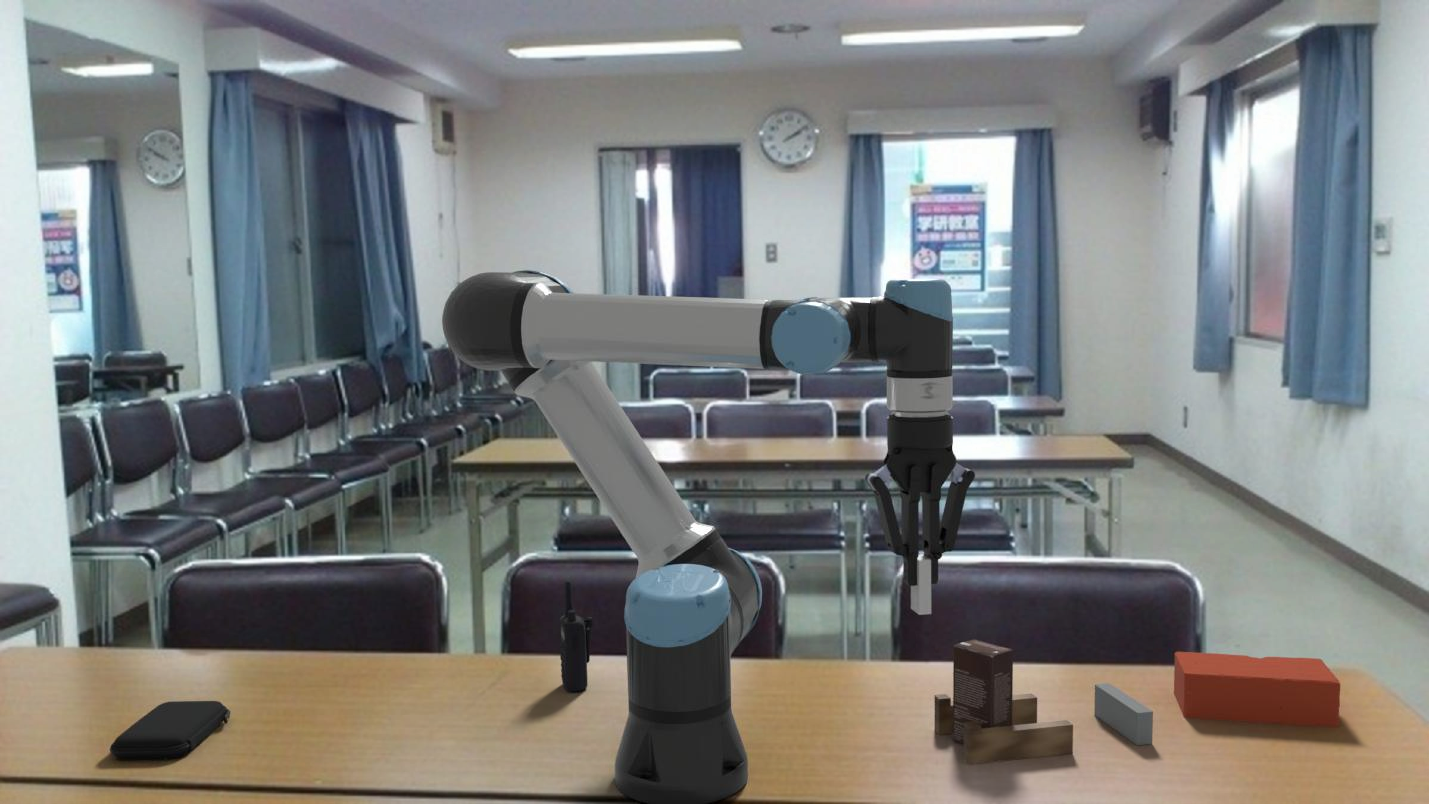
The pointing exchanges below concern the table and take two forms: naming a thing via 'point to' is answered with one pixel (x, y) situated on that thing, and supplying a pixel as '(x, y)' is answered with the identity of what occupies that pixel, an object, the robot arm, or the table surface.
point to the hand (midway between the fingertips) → (921, 611)
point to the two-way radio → (574, 645)
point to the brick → (1256, 689)
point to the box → (981, 686)
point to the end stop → (1124, 714)
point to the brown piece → (1008, 733)
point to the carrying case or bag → (169, 730)
